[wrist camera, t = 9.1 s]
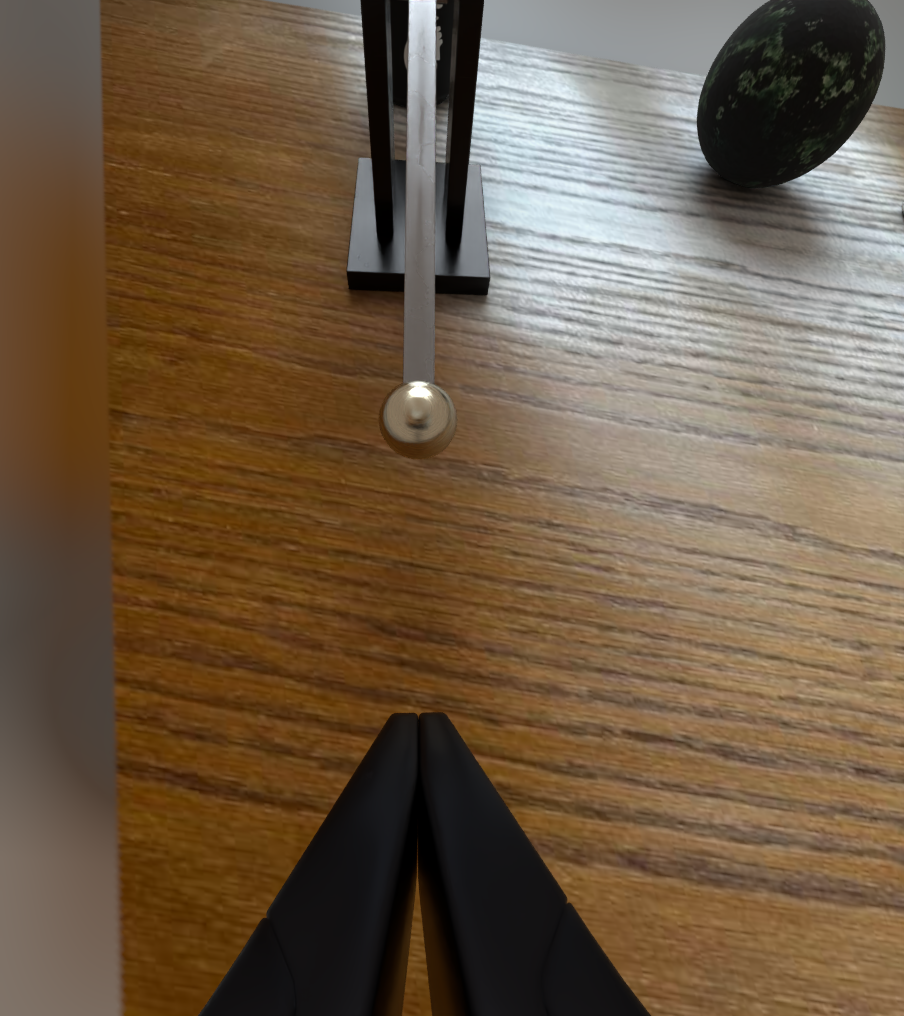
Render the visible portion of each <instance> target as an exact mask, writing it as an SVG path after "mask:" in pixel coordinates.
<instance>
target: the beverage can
mask: <svg viewBox="0 0 904 1016" xmlns="http://www.w3.org/2000/svg"><path fill="white" fill-rule="evenodd" d="M390 14H391V48H392V82H393V103H395V104H397V105H401V106H404V107H407V59H408V1H407V0H390ZM453 15H454V0H448V4H442V3H437V40H436V105H438V104H440V103H442V102H443V101H444V100H445V99H446V98H447V97H448V95H449V88H450V70H451V51H452V33H453Z"/></svg>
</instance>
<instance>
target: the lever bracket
mask: <svg viewBox="0 0 904 1016" xmlns="http://www.w3.org/2000/svg"><path fill="white" fill-rule="evenodd" d="M483 7H484V0H454V15H453V33H452V51H451V70H450V88H449V106H448V124H447V143H446V161H445V163H438V162H436V200H435V293H450V294H474V295H487V294H488V288H489V282H490V270H489V259H488V247H487V236H486V224H485V213H484V201H483V189H482V178H481V166H480V165H471V164H469V156H470V145H471V135H472V124H473V114H474V103H475V92H476V82H477V71H478V60H479V50H480V39H481V28H482V27H481V26H482V17H483ZM361 14H362V29H363V44H364V58H365V73H366V87H367V102H368V117H369V131H370V146H371V158H359V159H358V168H357V178H356V187H355V197H354V206H353V215H352V225H351V234H350V243H349V253H348V262H347V279H348V286H349V289H356V290H379V291H403V292H404V279H405V205H406V160H395V149H394V115H393V82H392V48H391V14H390V0H361Z"/></svg>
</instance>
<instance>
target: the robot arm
mask: <svg viewBox="0 0 904 1016" xmlns="http://www.w3.org/2000/svg"><path fill="white" fill-rule="evenodd" d="M417 841H418V882H419V895H420V905H421V914H422V923H423V933H424V942H425V952H426V961H427V971H428V980H429V990H430V999H431V1009H432V1016H651V1015H650V1014H649V1012H648V1011H647V1010H646V1009H645V1007H644V1006H643V1005H642V1003H641V1002H640V1001H639V1000H638V998H637V997H636V996H635V994H634V993H633V992H632V990H631V989H630V988H629V987H628V985H627V984H626V983H625V981H624V980H623V978H622V977H621V976H620V974H619V973H618V971H617V970H616V968H615V967H614V966H613V964H612V963H611V961H610V960H609V958H608V957H607V956H606V954H605V953H604V951H603V950H602V948H601V947H600V946H599V944H598V943H597V941H596V940H595V938H594V937H593V936H592V934H591V933H590V931H589V930H588V928H587V927H586V925H585V923H584V922H583V920H582V919H581V917H580V916H579V914H578V913H577V911H576V910H575V908H574V907H573V905H572V904H571V903H567V897H566V895H565V894H564V892H563V891H562V889H561V888H560V886H559V884H558V883H557V881H556V880H555V878H554V877H553V875H552V874H551V872H550V871H549V869H548V868H547V866H546V865H545V863H544V862H543V860H542V859H541V857H540V856H539V854H538V853H537V851H536V850H535V848H534V847H533V845H532V844H531V842H530V841H529V839H528V838H527V836H526V834H525V833H524V831H523V830H522V828H521V827H520V825H519V824H518V822H517V821H516V819H515V818H514V816H513V815H512V813H511V812H510V810H509V809H508V807H507V806H506V804H505V803H504V801H503V800H502V798H501V797H500V795H499V794H498V792H497V791H496V789H495V788H494V786H493V784H492V783H491V781H490V780H489V778H488V777H487V775H486V774H485V772H484V771H483V769H482V768H481V766H480V765H479V763H478V762H477V760H476V759H475V757H474V756H473V754H472V753H471V751H470V750H469V748H468V747H467V745H466V744H465V742H464V741H463V739H462V738H461V736H460V734H459V733H458V731H457V730H456V728H455V727H454V725H453V724H452V722H451V721H450V719H449V718H448V716H447V715H446V714H445V713H443V712H429V713H421V714H420V715H419V720H418V715H417V714H416V713H394V714H392V715H391V716H390V717H389V719H388V720H387V722H386V723H385V725H384V726H383V728H382V730H381V731H380V733H379V734H378V736H377V738H376V739H375V741H374V742H373V744H372V746H371V747H370V749H369V750H368V752H367V753H366V755H365V757H364V758H363V760H362V761H361V763H360V765H359V766H358V768H357V769H356V771H355V773H354V774H353V776H352V777H351V779H350V780H349V782H348V784H347V785H346V787H345V788H344V790H343V792H342V793H341V795H340V796H339V798H338V799H337V801H336V803H335V804H334V806H333V807H332V809H331V811H330V812H329V814H328V815H327V817H326V819H325V820H324V822H323V823H322V825H321V826H320V828H319V830H318V831H317V833H316V834H315V836H314V838H313V839H312V841H311V842H310V844H309V845H308V847H307V849H306V850H305V852H304V853H303V855H302V857H301V858H300V860H299V861H298V863H297V865H296V866H295V868H294V869H293V871H292V872H291V874H290V876H289V877H288V879H287V880H286V882H285V884H284V885H283V887H282V888H281V890H280V891H279V893H278V895H277V896H276V898H275V899H274V901H273V903H272V904H271V906H270V907H269V909H268V911H267V913H266V916H267V918H263V919H262V920H261V921H260V923H259V924H258V926H257V927H256V929H255V931H254V932H253V934H252V935H251V937H250V939H249V940H248V942H247V943H246V945H245V947H244V948H243V950H242V951H241V953H240V954H239V956H238V957H237V959H236V960H235V962H234V963H233V965H232V966H231V968H230V969H229V971H228V972H227V974H226V975H225V977H224V978H223V980H222V981H221V983H220V984H219V986H218V987H217V989H216V990H215V992H214V993H213V995H212V996H211V998H210V999H209V1001H208V1002H207V1004H206V1005H205V1007H204V1008H203V1010H202V1011H201V1012H200V1014H199V1015H198V1016H402V1010H403V1001H404V992H405V983H406V974H407V965H408V956H409V947H410V938H411V929H412V919H413V910H414V901H415V891H416V879H417Z"/></svg>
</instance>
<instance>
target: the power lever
mask: <svg viewBox="0 0 904 1016" xmlns="http://www.w3.org/2000/svg"><path fill="white" fill-rule="evenodd" d="M407 1H408V59H407V132H406V205H405V279H404V352H403V383H402V384H400V385H398V386H396V387H395V388H394V389H392V390H391V391H390V392H389V393H388V395H387V396H386V397H385V399H384V401H383V403H382V405H381V408H380V412H379V426H380V430H381V433H382V436H383V438H384V440H385V441H386V443H387V444H388V445H389V446H390V448H391V449H393V450H394V451H395V452H396V453H398V454H400V455H402V456H404V457H407V458H411V459H427V458H430V457H433V456H435V455H437V454H439V453H441V452H442V451H443V450H444V449H446V447H447V446H448V445H449V444H450V442H451V441H452V439H453V437H454V435H455V432H456V428H457V412H456V408H455V405H454V403H453V401H452V399H451V398H450V396H449V395H448V394H447V393H446V392H445V391H444V390H443V389H442V388H441V387H439V386H438V385H436V384H434V360H435V200H436V40H437V3H442V4H448V0H407Z"/></svg>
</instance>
